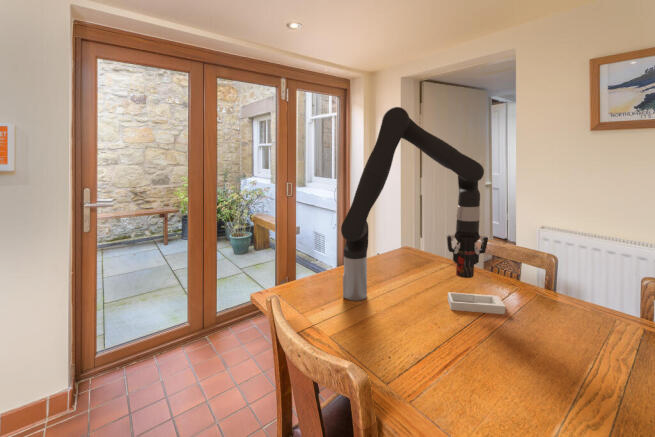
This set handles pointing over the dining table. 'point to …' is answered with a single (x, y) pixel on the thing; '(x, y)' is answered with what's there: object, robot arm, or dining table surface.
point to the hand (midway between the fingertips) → (465, 263)
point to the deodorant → (466, 257)
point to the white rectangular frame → (476, 303)
